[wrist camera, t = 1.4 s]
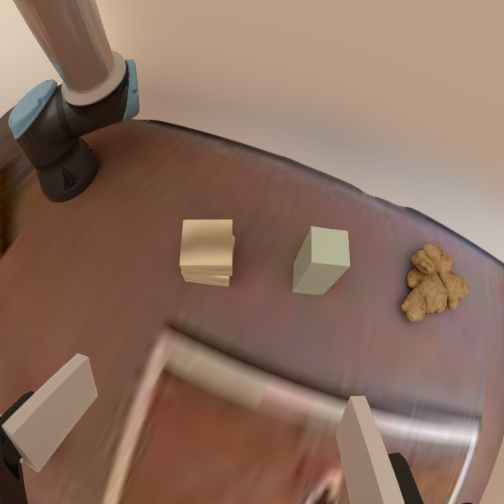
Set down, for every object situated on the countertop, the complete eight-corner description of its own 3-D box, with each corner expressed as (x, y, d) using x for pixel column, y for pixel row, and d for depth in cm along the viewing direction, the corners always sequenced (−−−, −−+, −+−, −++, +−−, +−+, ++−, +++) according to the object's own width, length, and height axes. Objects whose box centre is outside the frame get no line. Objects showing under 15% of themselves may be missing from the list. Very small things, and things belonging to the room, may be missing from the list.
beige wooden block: (193, 242, 47) (190, 230, 43) (234, 247, 47) (234, 235, 44) (185, 281, 44) (181, 272, 40) (229, 287, 44) (228, 278, 41)
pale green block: (293, 263, 46) (311, 226, 36) (322, 266, 46) (347, 231, 36) (292, 292, 44) (311, 262, 33) (322, 295, 44) (350, 266, 33)
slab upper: (187, 233, 43) (183, 220, 40) (232, 233, 44) (232, 219, 40) (184, 275, 40) (179, 265, 37) (232, 276, 41) (232, 265, 37)
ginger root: (450, 246, 49) (473, 237, 41) (448, 322, 46) (473, 322, 38) (390, 236, 49) (411, 224, 41) (387, 321, 46) (409, 322, 38)
